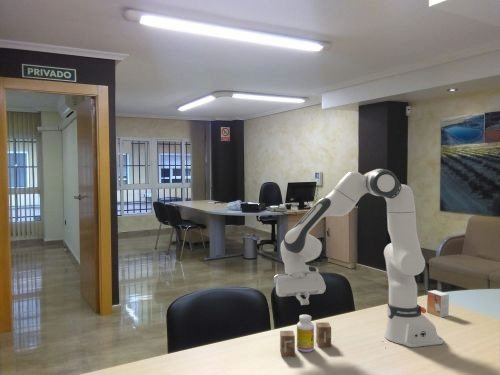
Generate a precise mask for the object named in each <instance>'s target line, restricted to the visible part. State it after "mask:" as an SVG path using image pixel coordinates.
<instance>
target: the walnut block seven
mask: <svg viewBox="0 0 500 375" xmlns="http://www.w3.org/2000/svg"><path fill="white" fill-rule="evenodd" d="M279 332H280V333H279V334H280V335H279V338H280V339H279V342H280V343H279V348H280V349H279V351H280V356H281V358H295V357H296V345H295V343H296V338H295V337H296V335H295V332H294V330H280V331H279Z"/></svg>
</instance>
